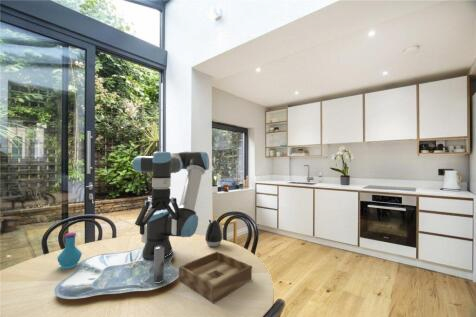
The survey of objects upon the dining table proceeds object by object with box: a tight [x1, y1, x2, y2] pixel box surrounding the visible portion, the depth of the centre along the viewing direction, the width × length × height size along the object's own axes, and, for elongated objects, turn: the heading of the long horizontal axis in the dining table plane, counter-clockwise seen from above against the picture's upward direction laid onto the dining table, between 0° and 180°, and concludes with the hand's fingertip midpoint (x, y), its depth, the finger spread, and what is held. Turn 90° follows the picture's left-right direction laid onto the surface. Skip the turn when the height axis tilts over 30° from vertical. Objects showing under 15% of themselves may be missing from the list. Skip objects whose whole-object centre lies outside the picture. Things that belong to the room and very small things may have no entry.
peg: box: [152, 246, 165, 283], centre depth 93 cm, size 4×4×14 cm
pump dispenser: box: [204, 219, 223, 248], centre depth 134 cm, size 10×10×15 cm
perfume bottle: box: [57, 232, 83, 270], centre depth 104 cm, size 9×9×15 cm
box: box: [178, 251, 253, 304], centre depth 94 cm, size 22×22×6 cm
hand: (159, 238), depth 93 cm, fingers open, 13 cm apart
